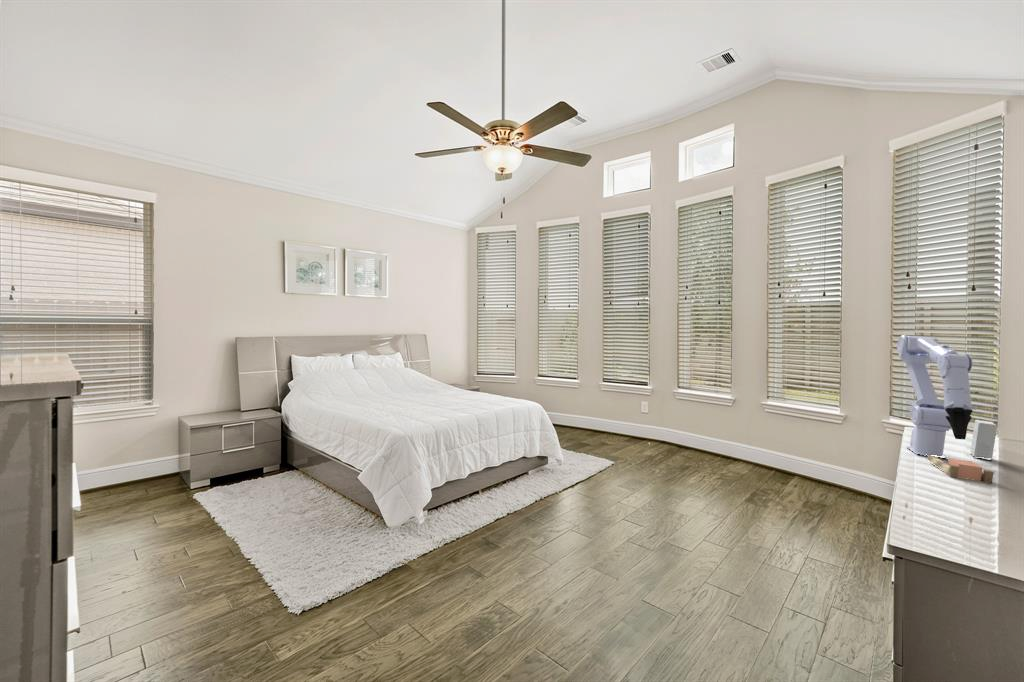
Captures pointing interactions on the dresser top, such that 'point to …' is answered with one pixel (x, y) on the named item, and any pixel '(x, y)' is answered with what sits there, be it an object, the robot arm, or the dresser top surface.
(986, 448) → the skincare box
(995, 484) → the dresser top surface
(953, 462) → the block
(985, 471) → the chute
